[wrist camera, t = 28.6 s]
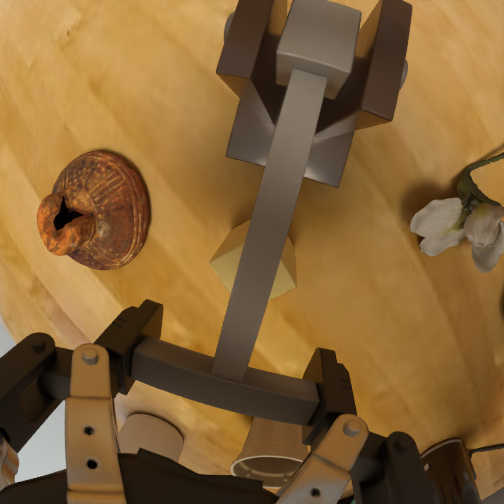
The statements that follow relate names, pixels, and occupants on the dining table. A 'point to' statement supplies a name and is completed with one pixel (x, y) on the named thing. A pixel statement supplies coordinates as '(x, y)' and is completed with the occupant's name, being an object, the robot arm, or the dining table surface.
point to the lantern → (347, 500)
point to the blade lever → (266, 232)
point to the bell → (95, 212)
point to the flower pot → (270, 452)
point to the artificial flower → (464, 222)
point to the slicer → (332, 111)
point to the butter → (231, 253)
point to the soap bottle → (150, 436)
